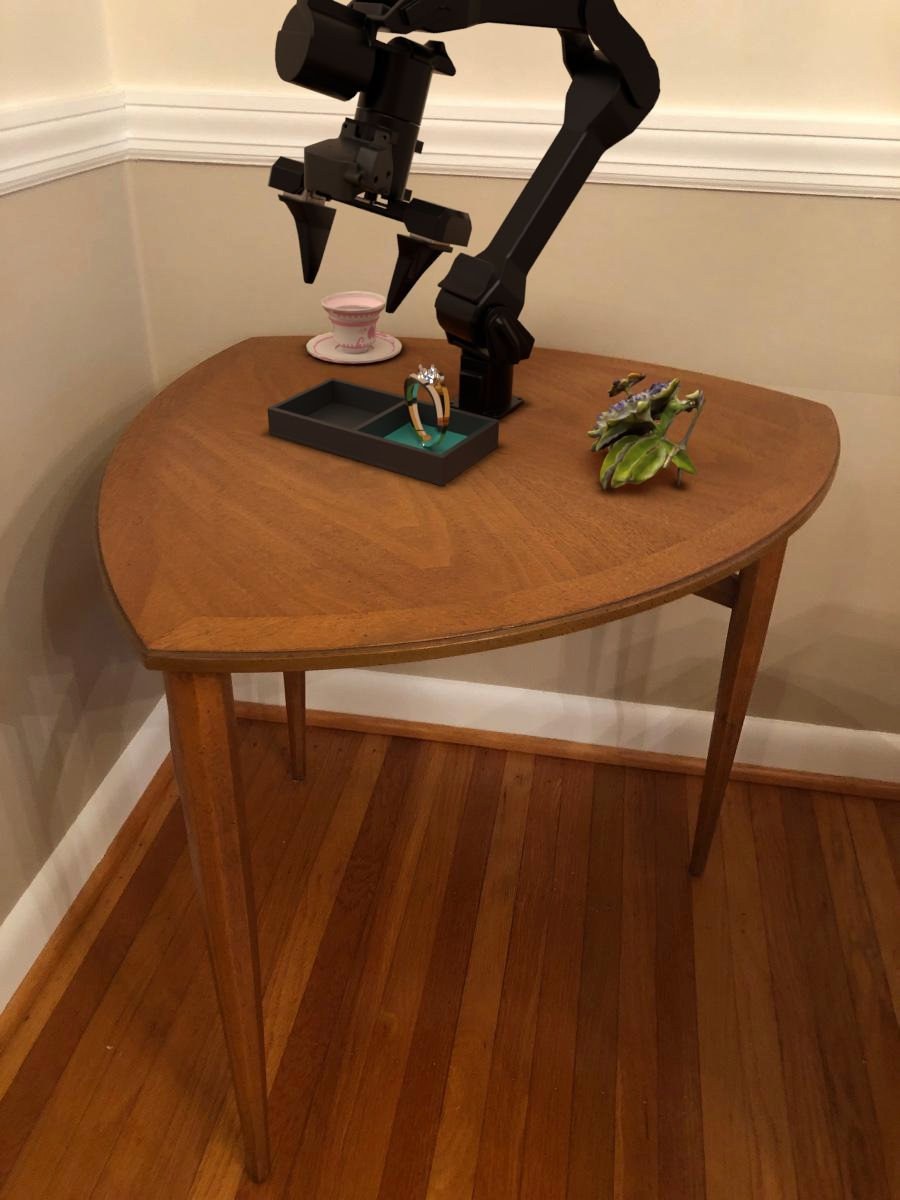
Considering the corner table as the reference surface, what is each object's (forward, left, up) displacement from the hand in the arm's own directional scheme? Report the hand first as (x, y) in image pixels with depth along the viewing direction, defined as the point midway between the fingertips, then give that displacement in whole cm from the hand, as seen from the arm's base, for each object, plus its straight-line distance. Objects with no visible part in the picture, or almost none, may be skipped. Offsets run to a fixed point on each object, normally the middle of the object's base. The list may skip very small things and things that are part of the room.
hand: (348, 297), depth 88 cm
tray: (-1, +3, -14) cm, 15 cm away
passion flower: (-9, +28, -14) cm, 33 cm away
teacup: (-22, -16, -14) cm, 31 cm away
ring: (-2, +8, -14) cm, 16 cm away
